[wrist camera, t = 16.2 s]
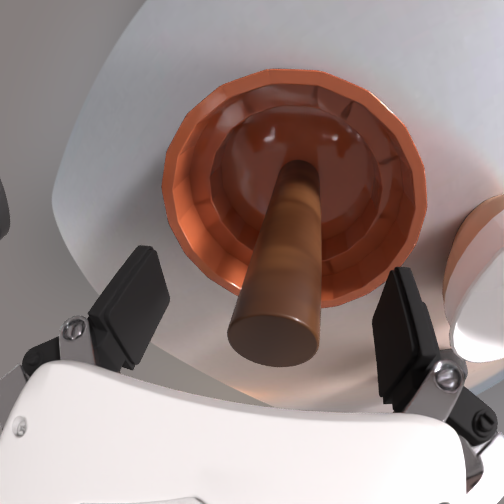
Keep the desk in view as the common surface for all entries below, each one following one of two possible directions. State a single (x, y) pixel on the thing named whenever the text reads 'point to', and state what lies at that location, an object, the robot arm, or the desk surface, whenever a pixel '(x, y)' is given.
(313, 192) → the stick
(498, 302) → the bowl
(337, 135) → the mixing bowl
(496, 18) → the desk surface
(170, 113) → the desk surface
